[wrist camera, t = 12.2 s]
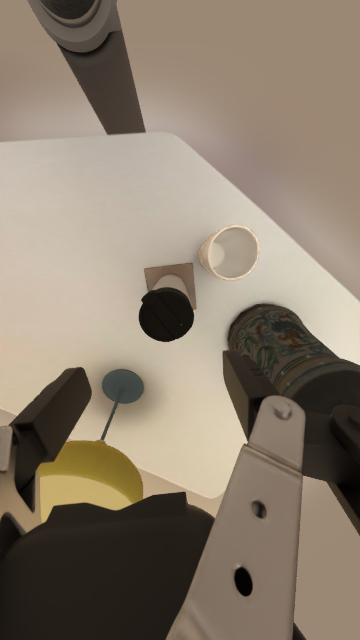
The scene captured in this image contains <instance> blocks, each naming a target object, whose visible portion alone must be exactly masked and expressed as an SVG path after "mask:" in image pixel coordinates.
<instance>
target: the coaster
mask: <svg viewBox="0 0 360 640" xmlns="http://www.w3.org/2000/svg"><path fill="white" fill-rule="evenodd" d="M144 271H145V276H146V282H147V288H148V292H150V291H151V290H152V289H153V288H154V286H155V285H156V284H157V282H158V281H159V279H160V278H161V277H163V276H165V275H168V274H173V275H176V276H178V277H180V278H181V279H182V280H183V282H184V284H185V287H186V290H187V293H188V296H189V298H190V301H191V304H192V309H193V310H194V309H196V300H195V288H194V277H193V265H192V263H186V264H178V265H169V266H161V267H153V268H145V269H144Z"/></svg>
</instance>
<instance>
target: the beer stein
mask: <svg viewBox="0 0 360 640" xmlns="http://www.w3.org/2000/svg"><path fill="white" fill-rule="evenodd" d="M228 342H229V349H230V350H235V349H237V350H238V352H239V353H240V355H241V356H242V358H244V357H248V358H250V359H252V360H253V361H255V362H256V363H257V364H258V366H259V367H260V368H261V370H262V371H263V372H264V374H265V375H266V376H267V377H268V379H269V380H270V381H271V383H272V384H273V385H274V387H275V388H276V389H277V391H278V392H279V393H280V395H281V396H282V397H286V398H288V399H291V400H292V401H294V402H296V403H297V404H298V405H299V406H300V407H301V408H302V409H303V410H305V411H309V412H315V413H322V414H328V415H331V413H332V409H333V408H334V407H335V406H338V405H352V406H356V407H359V408H360V365H357V364H355V363H353V362H350V361H348V360H344V359H340V358H339V357H338V356H336V355H335V354H334V353H333V352H332V351H331V350H330V349H329V348H327V347H326V346H325V345H324V344H323V343H322V342H320V341H319V340H318V339H317V338H316V337H315V336H313V335H312V334H311V333H310V332H309V330H308V329H307V328H306V327H305V326H304V325H303V323H302V321H301V320H300V318H299V317H298V316H297V315H296V314H295V313H294V312H292V311H291V310H289V309H287V308H284V307H280V306H275V305H264V304H257V305H255V306H253V307H251V308H249V309H248V310H246V311H244V312H242V313H240V315H239V316H238V317H237V318H236V320H235V321H234V322H233V323H232V325H231V327H230V331H229V336H228Z"/></svg>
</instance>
